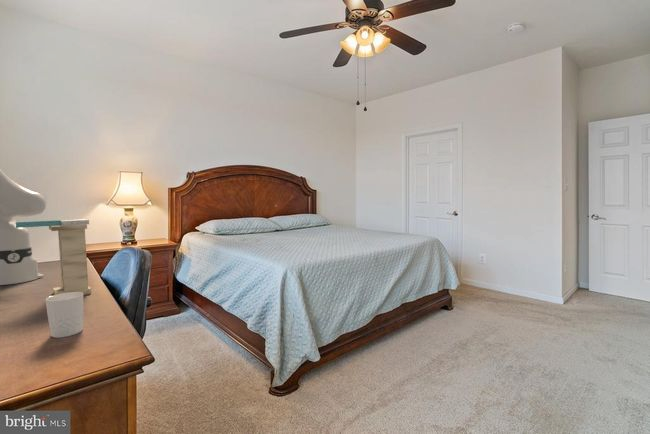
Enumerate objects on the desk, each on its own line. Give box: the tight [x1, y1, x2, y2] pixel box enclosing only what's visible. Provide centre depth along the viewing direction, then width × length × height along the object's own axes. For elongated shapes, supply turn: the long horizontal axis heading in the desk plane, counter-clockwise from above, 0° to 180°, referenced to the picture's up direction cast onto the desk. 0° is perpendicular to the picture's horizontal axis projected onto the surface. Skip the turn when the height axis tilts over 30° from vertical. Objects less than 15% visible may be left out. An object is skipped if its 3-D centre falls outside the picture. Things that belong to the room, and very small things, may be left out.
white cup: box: [44, 292, 84, 339], centre depth 87 cm, size 8×8×10 cm
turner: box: [16, 218, 90, 228], centre depth 119 cm, size 20×8×2 cm, turn 134°
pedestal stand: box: [48, 224, 92, 296], centre depth 123 cm, size 12×10×26 cm
